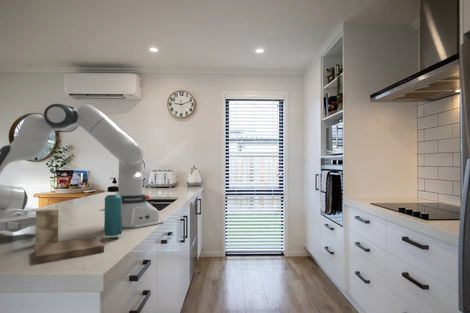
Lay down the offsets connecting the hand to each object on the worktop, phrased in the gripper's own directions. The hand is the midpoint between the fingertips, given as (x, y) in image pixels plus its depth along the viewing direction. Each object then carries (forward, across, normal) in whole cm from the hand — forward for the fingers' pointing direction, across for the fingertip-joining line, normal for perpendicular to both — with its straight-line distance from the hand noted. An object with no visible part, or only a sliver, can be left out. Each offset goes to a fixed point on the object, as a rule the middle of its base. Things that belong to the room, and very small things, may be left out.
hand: (33, 223), depth 107 cm
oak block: (+9, 0, +6) cm, 11 cm away
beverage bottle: (+24, +16, +7) cm, 30 cm away
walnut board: (+27, -3, +6) cm, 28 cm away
